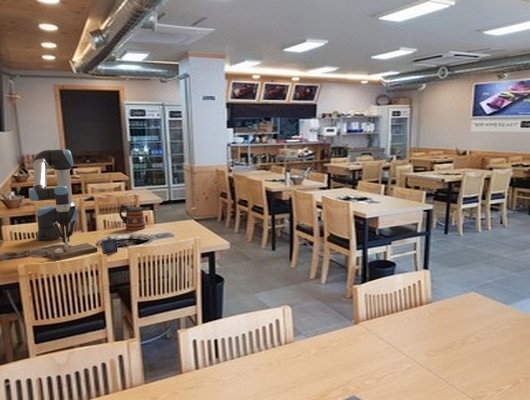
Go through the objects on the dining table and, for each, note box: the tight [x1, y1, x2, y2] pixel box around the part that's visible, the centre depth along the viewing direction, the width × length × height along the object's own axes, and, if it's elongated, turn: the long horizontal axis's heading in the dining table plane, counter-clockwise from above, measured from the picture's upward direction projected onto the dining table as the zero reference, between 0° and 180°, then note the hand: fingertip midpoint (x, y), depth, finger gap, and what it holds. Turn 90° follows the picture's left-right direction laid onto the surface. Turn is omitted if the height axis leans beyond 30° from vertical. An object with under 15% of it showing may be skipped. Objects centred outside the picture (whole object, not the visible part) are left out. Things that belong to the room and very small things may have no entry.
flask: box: [100, 235, 118, 254], centre depth 261 cm, size 9×3×11 cm, turn 117°
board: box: [45, 242, 98, 261], centre depth 261 cm, size 16×26×2 cm, turn 136°
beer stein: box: [118, 204, 146, 231], centre depth 325 cm, size 19×15×20 cm
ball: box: [54, 247, 64, 253], centre depth 256 cm, size 5×5×5 cm
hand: (66, 247), depth 259 cm, fingers closed
